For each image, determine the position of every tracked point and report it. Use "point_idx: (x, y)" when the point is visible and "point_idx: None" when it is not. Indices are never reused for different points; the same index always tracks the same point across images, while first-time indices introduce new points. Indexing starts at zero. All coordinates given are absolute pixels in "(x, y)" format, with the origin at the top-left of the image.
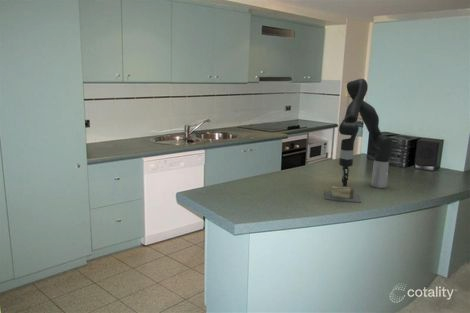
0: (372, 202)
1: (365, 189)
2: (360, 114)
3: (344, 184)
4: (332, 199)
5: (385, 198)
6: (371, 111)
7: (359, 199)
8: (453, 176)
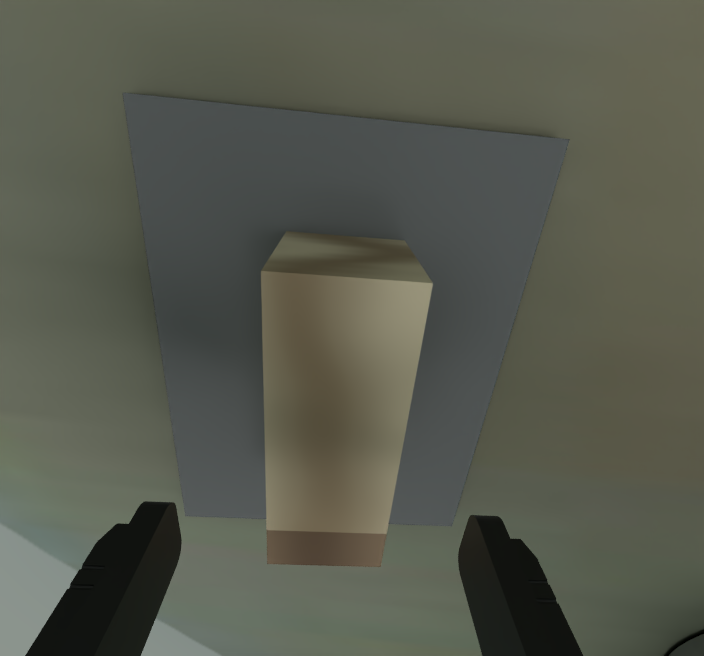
0: (259, 576)
1: (645, 578)
2: None
3: (102, 566)
4: (142, 222)
5: (395, 649)
6: None
7: None
8: None
